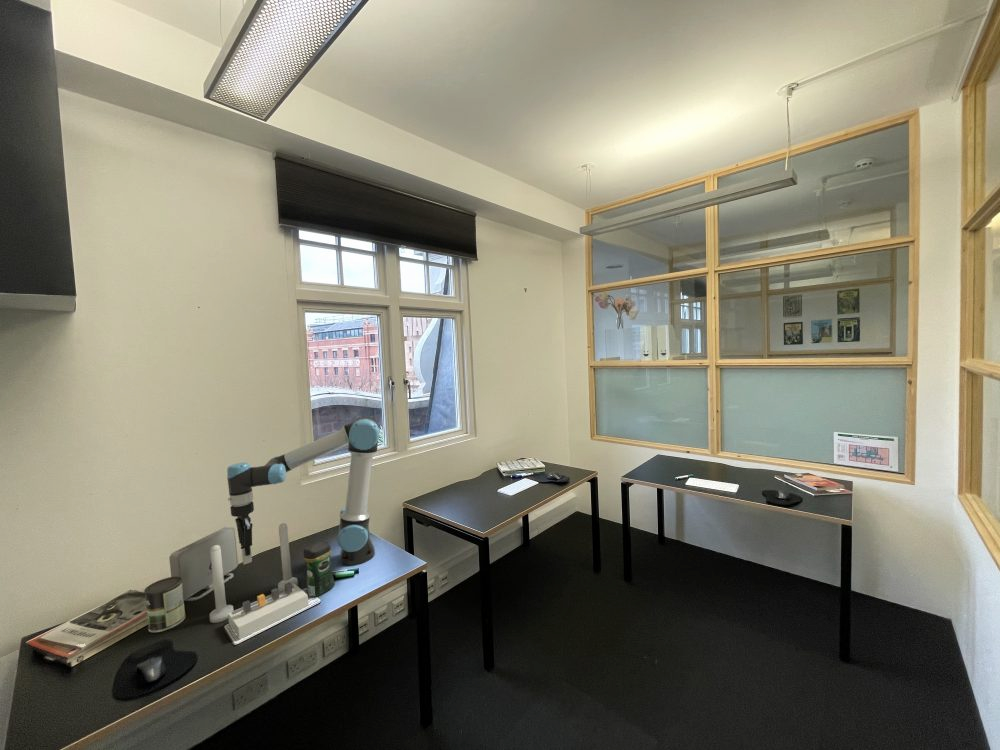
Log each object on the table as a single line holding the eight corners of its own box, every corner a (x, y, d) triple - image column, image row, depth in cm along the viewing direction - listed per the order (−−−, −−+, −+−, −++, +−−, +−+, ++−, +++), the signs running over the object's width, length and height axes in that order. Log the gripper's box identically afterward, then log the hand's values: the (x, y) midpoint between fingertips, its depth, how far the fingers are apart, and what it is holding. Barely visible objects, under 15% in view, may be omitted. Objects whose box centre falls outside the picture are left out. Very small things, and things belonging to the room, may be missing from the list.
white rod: (298, 580, 165) (293, 518, 163) (297, 589, 158) (291, 525, 157) (279, 584, 162) (274, 522, 161) (277, 594, 156) (271, 528, 154)
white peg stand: (236, 608, 148) (229, 539, 147) (230, 619, 142) (223, 547, 140) (213, 613, 146) (206, 543, 145) (207, 625, 139) (199, 551, 138)
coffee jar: (325, 581, 163) (322, 536, 162) (337, 586, 158) (334, 540, 157) (303, 594, 154) (298, 547, 154) (315, 599, 150) (310, 551, 149)
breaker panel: (295, 594, 155) (294, 583, 155) (308, 605, 147) (307, 594, 146) (229, 624, 138) (227, 612, 138) (239, 639, 130) (238, 626, 130)
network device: (187, 606, 151) (181, 555, 150) (168, 605, 153) (163, 554, 152) (243, 570, 176) (238, 526, 175) (226, 569, 178) (222, 525, 177)
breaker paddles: (292, 590, 149) (292, 581, 149) (295, 592, 148) (294, 582, 148) (240, 613, 137) (239, 603, 137) (242, 616, 135) (241, 606, 135)
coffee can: (146, 637, 135) (142, 596, 134) (149, 622, 143) (145, 584, 142) (185, 623, 141) (181, 584, 140) (186, 610, 149) (182, 573, 148)
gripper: (225, 503, 157) (231, 561, 158) (235, 510, 149) (241, 572, 150) (247, 497, 163) (253, 554, 164) (258, 503, 154) (263, 563, 155)
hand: (247, 562), depth 157 cm, fingers closed
